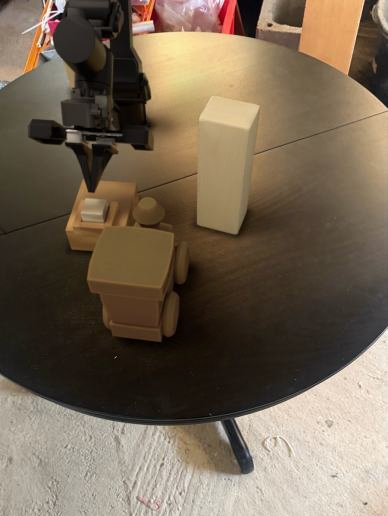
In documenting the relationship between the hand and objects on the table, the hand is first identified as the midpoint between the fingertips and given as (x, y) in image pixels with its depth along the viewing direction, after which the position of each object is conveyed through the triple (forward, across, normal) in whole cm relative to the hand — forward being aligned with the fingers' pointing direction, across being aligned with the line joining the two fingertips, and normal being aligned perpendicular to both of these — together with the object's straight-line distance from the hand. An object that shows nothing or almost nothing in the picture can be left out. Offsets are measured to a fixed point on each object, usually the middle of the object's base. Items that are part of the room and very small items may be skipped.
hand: (91, 192), depth 76 cm
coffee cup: (-25, -13, +40) cm, 49 cm away
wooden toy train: (+17, +11, -1) cm, 20 cm away
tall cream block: (+2, +21, +13) cm, 25 cm away
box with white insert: (+5, 0, +10) cm, 11 cm away
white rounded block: (+3, 0, +3) cm, 4 cm away
